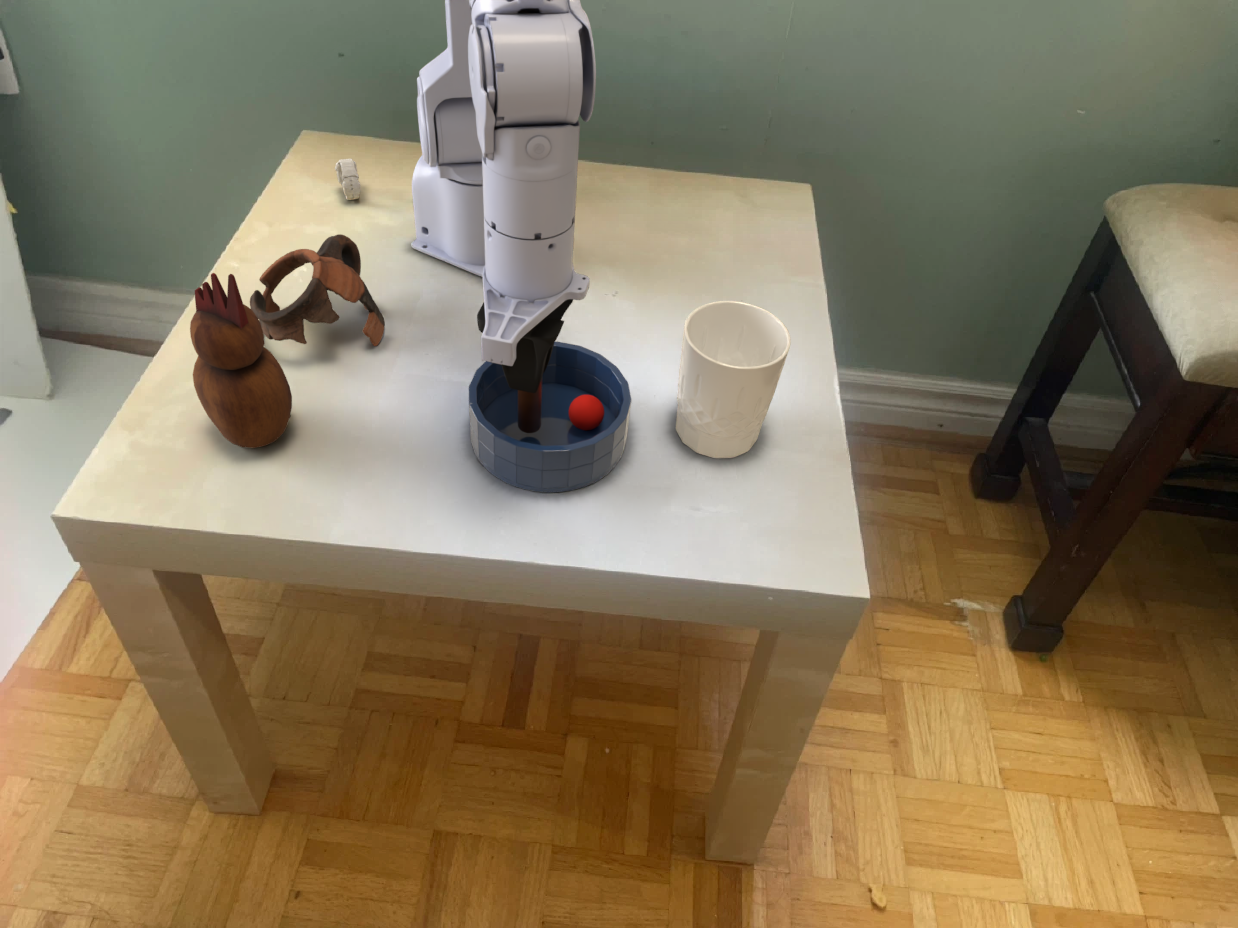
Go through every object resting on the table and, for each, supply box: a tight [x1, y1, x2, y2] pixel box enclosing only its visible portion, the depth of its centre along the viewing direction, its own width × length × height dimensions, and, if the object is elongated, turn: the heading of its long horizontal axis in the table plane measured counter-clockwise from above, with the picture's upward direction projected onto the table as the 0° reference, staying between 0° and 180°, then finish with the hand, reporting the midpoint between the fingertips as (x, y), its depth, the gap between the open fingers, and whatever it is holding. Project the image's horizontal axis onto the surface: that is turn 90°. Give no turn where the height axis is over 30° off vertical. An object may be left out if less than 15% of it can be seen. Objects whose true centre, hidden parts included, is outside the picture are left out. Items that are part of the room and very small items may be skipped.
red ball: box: [569, 395, 604, 430], centre depth 72 cm, size 3×3×3 cm
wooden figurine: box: [189, 272, 293, 449], centre depth 65 cm, size 7×6×15 cm
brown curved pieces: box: [249, 233, 386, 347], centre depth 78 cm, size 12×10×8 cm
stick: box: [518, 379, 542, 433], centre depth 67 cm, size 2×2×10 cm
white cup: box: [675, 300, 792, 459], centre depth 71 cm, size 8×8×10 cm
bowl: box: [468, 340, 632, 493], centre depth 71 cm, size 12×12×4 cm
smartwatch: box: [334, 158, 362, 201], centre depth 92 cm, size 4×2×4 cm, turn 20°
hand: (527, 377), depth 67 cm, fingers closed on stick, 2 cm apart
